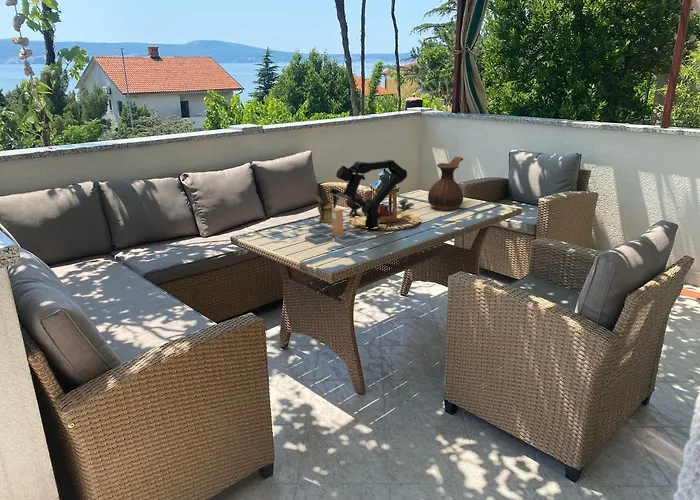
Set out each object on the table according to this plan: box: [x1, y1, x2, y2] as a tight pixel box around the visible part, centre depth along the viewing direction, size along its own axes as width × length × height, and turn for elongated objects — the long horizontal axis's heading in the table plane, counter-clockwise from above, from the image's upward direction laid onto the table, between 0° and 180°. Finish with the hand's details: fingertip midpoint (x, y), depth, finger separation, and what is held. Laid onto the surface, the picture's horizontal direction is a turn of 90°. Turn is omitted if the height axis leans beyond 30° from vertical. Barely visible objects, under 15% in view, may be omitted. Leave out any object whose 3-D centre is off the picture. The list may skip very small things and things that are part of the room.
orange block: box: [331, 207, 345, 237], centre depth 287 cm, size 4×4×14 cm
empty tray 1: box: [307, 224, 333, 235], centre depth 296 cm, size 10×10×2 cm
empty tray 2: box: [333, 233, 363, 247], centre depth 278 cm, size 10×10×2 cm
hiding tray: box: [304, 233, 334, 246], centre depth 282 cm, size 10×10×2 cm
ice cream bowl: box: [345, 192, 365, 218], centre depth 326 cm, size 11×11×15 cm
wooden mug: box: [312, 192, 333, 224], centre depth 315 cm, size 9×14×18 cm, turn 134°
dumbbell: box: [397, 197, 415, 212], centre depth 336 cm, size 9×22×10 cm, turn 124°
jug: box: [427, 156, 464, 212], centre depth 335 cm, size 22×22×30 cm
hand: (341, 212), depth 290 cm, fingers open, 9 cm apart
